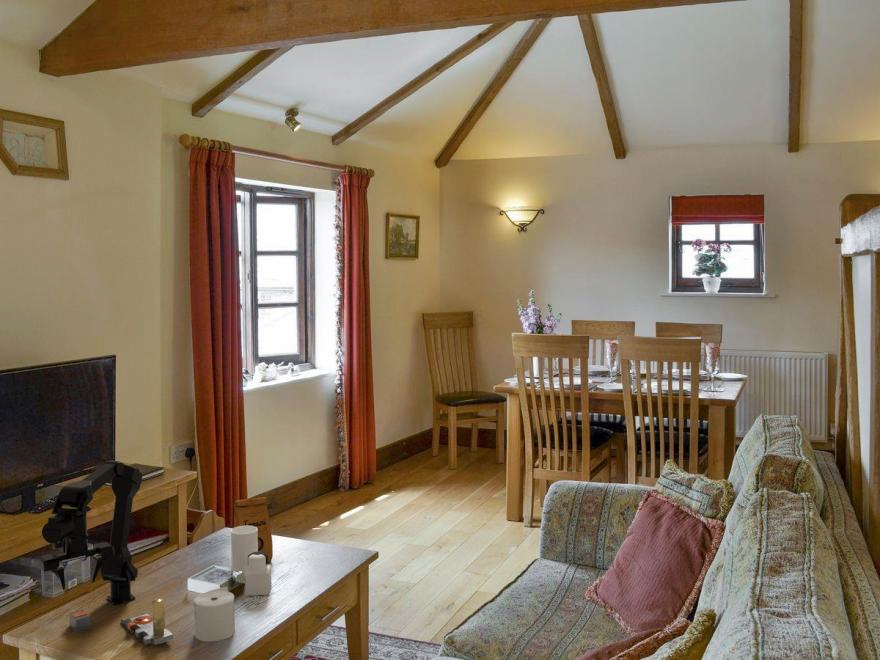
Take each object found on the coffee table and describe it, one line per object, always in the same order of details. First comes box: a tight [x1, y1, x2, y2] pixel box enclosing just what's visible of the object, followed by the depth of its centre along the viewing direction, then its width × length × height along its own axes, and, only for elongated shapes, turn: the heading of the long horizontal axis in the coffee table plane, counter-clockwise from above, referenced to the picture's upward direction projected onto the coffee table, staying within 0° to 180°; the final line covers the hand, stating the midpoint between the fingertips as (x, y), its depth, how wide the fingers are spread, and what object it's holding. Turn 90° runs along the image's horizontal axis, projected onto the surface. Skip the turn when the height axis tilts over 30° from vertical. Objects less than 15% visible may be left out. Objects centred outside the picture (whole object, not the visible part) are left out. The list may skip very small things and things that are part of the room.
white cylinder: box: [230, 526, 258, 580], centre depth 269 cm, size 8×8×16 cm
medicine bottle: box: [244, 551, 272, 597], centre depth 259 cm, size 7×7×12 cm
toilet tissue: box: [193, 586, 236, 643], centre depth 231 cm, size 11×12×10 cm
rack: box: [127, 597, 174, 646], centre depth 229 cm, size 17×7×10 cm, turn 41°
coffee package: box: [233, 496, 274, 563], centre depth 283 cm, size 10×12×22 cm
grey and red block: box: [69, 609, 90, 635], centre depth 234 cm, size 6×4×4 cm, turn 40°
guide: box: [120, 613, 154, 646], centre depth 233 cm, size 18×7×1 cm, turn 41°
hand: (78, 586), depth 233 cm, fingers open, 7 cm apart
